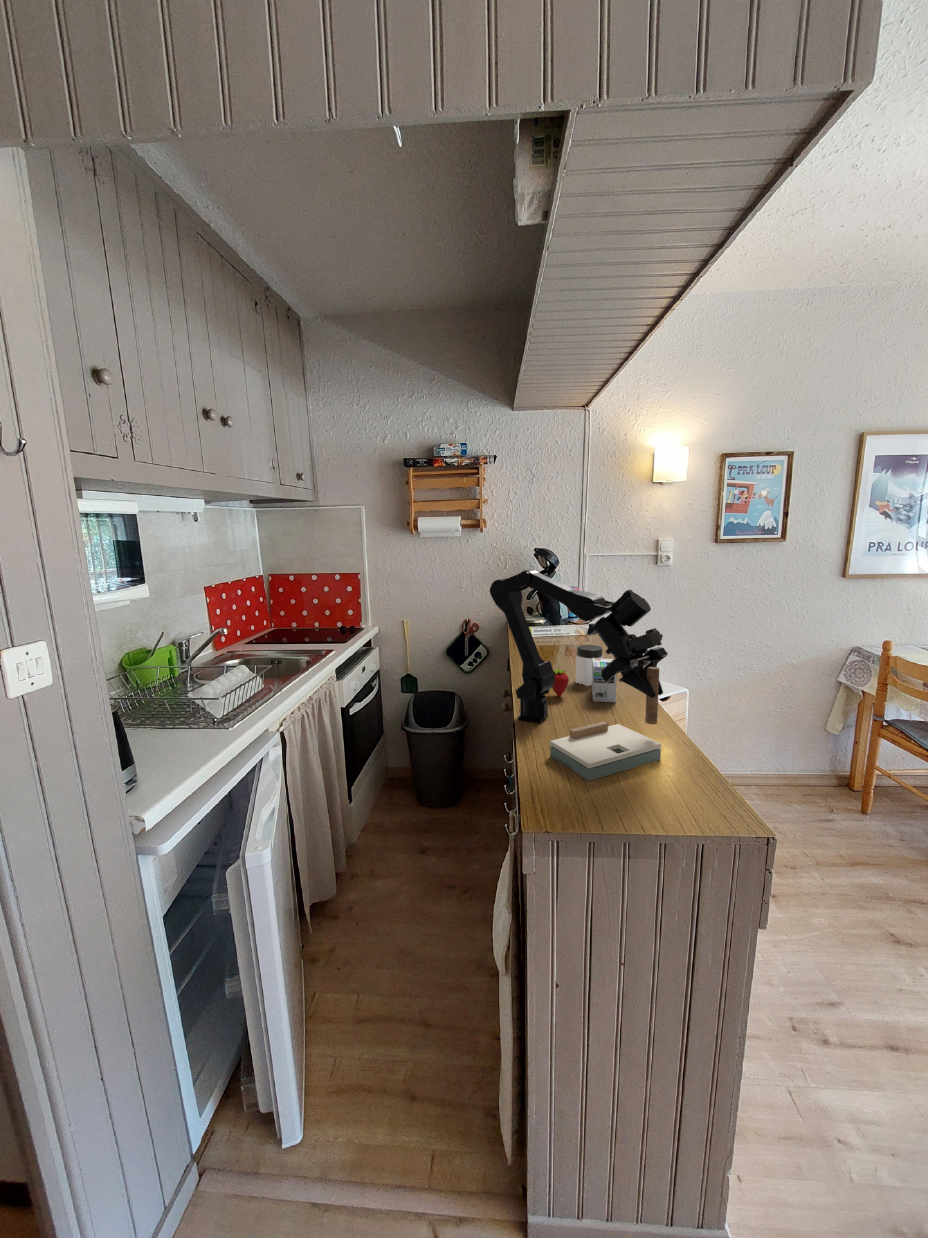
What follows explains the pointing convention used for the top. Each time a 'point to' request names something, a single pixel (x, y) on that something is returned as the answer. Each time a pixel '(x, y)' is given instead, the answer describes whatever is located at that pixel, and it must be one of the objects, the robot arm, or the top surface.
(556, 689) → the strawberry
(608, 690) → the light bulb box
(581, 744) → the lid
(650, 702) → the brown wooden peg
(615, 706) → the top surface
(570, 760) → the teal box base
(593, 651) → the jar
